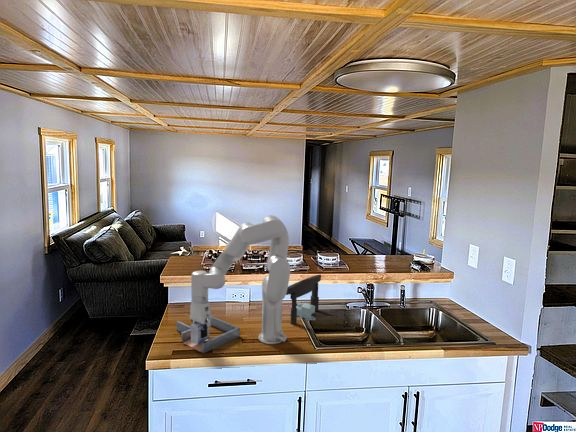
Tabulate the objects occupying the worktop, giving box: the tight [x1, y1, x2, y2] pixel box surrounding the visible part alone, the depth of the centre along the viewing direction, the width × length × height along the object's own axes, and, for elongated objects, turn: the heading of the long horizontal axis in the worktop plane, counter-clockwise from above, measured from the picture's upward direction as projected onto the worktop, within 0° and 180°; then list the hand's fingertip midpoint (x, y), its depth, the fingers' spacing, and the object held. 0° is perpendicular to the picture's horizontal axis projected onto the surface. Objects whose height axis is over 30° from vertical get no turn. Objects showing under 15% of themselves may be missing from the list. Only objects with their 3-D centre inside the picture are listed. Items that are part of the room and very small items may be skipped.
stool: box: [286, 274, 322, 325], centre depth 221 cm, size 16×21×33 cm
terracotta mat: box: [182, 339, 209, 353], centre depth 188 cm, size 13×10×1 cm
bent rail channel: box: [176, 315, 241, 354], centre depth 196 cm, size 28×22×4 cm
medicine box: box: [190, 322, 210, 344], centre depth 187 cm, size 8×4×9 cm, turn 148°
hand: (200, 334), depth 187 cm, fingers closed on medicine box, 4 cm apart
